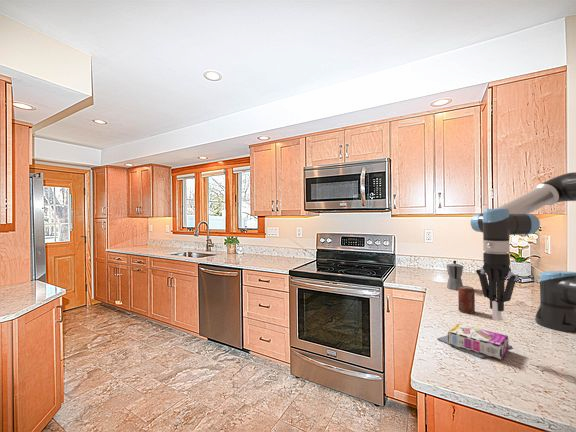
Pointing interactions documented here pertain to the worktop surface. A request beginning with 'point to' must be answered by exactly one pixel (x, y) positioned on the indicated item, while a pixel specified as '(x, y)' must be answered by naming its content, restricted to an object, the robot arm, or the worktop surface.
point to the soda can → (466, 299)
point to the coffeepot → (454, 276)
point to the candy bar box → (478, 340)
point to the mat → (479, 355)
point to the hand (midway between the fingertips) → (497, 319)
